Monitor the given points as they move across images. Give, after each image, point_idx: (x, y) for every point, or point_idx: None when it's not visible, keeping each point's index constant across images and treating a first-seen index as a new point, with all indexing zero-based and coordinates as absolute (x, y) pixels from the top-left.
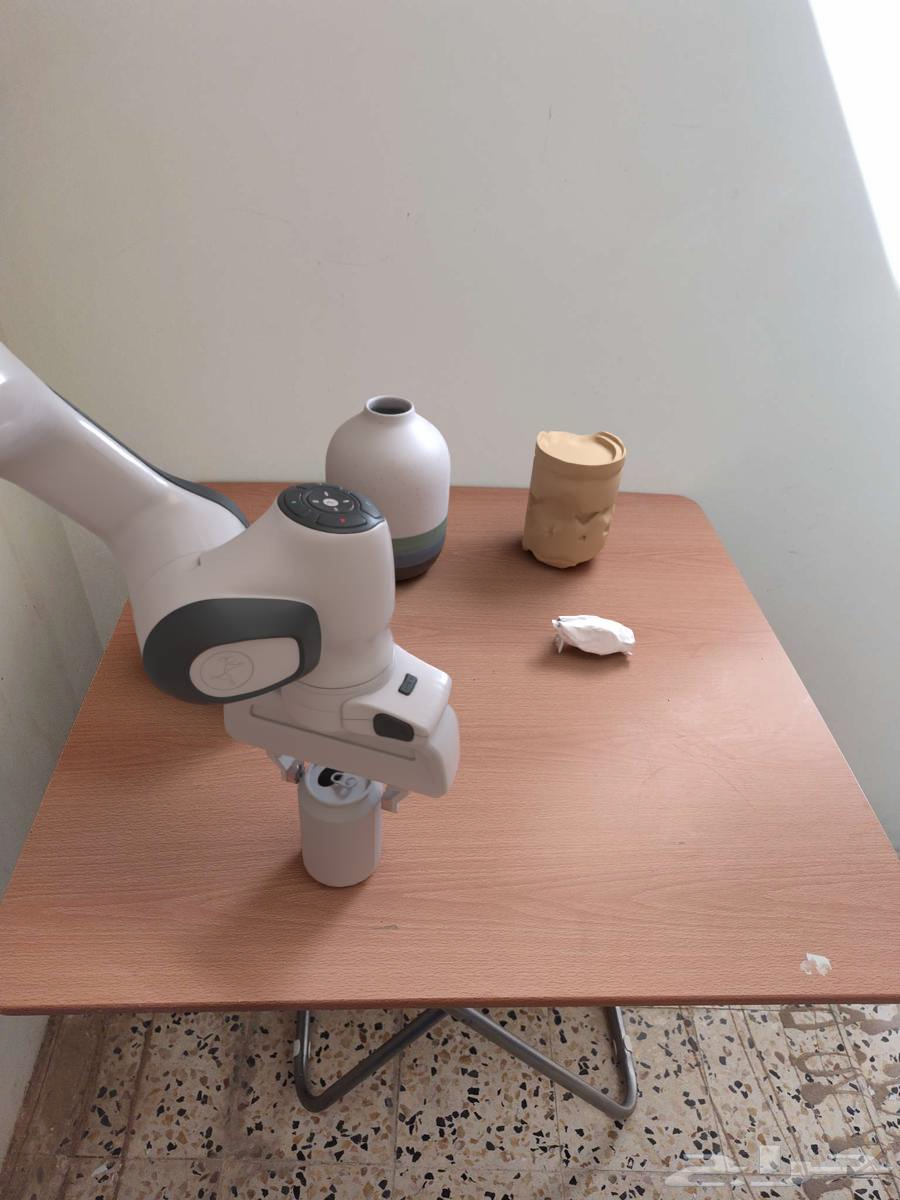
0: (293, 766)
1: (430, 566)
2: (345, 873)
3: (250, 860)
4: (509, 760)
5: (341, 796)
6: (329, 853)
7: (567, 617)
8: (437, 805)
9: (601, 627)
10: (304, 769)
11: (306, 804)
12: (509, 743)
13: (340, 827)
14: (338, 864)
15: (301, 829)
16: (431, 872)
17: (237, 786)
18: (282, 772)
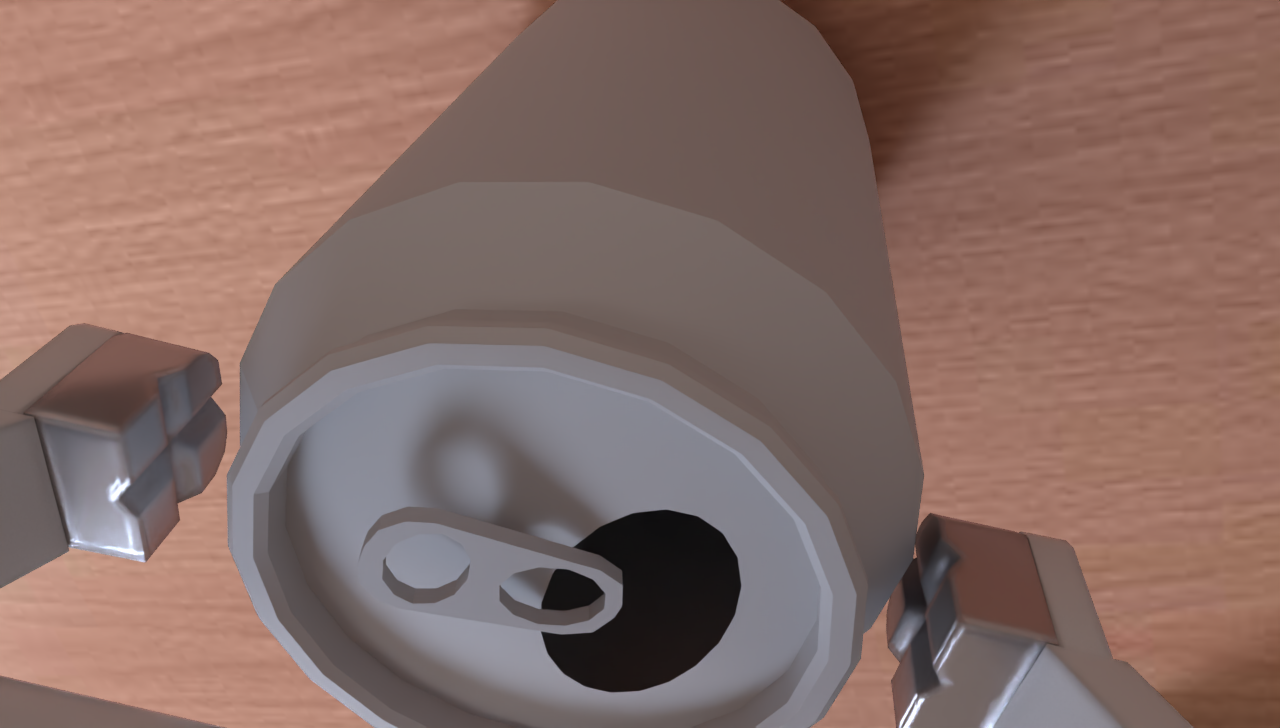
0: (985, 678)
1: None
2: (582, 3)
3: (1149, 84)
4: (187, 598)
5: (475, 430)
6: (641, 45)
7: None
8: None
9: None
10: (889, 627)
11: (806, 337)
12: (213, 651)
13: (473, 159)
14: (603, 18)
15: (865, 199)
16: (268, 129)
17: (1235, 462)
18: (1085, 621)
